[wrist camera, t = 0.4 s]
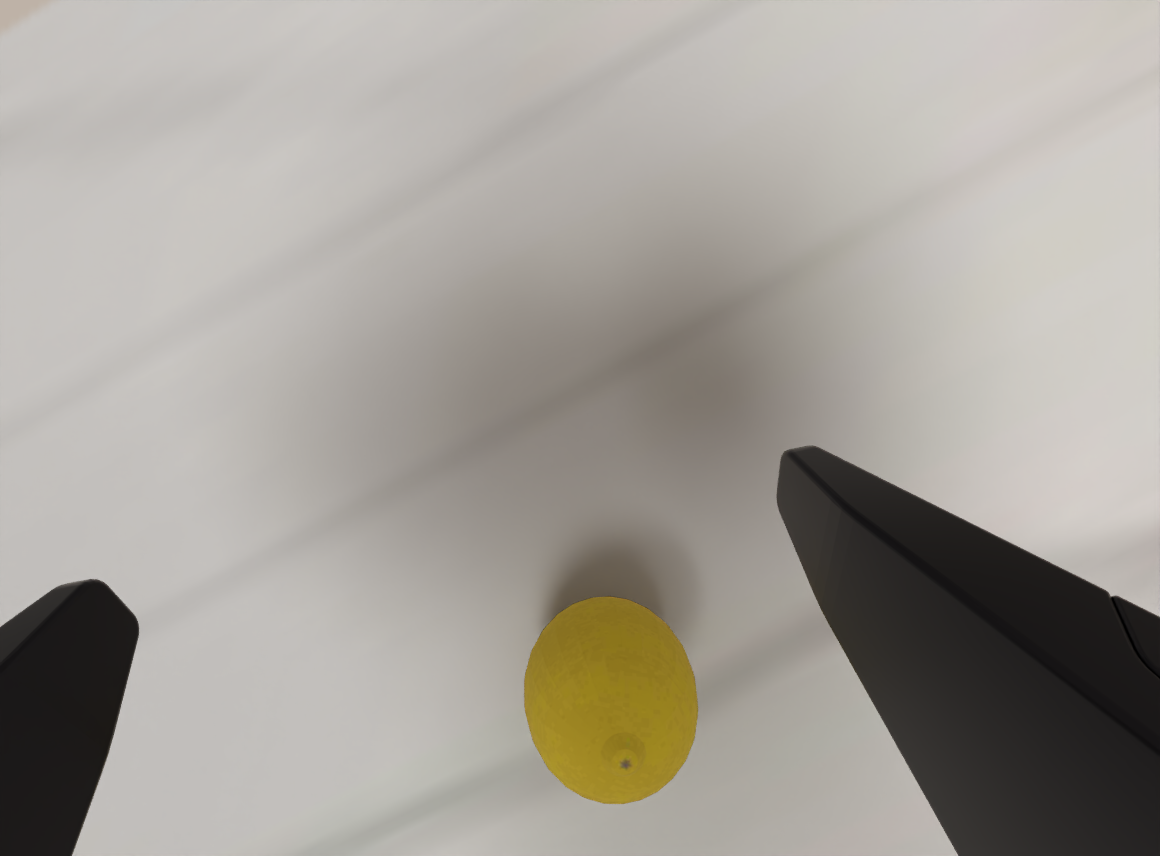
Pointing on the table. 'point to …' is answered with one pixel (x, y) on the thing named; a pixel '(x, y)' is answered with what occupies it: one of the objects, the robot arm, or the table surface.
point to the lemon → (611, 700)
